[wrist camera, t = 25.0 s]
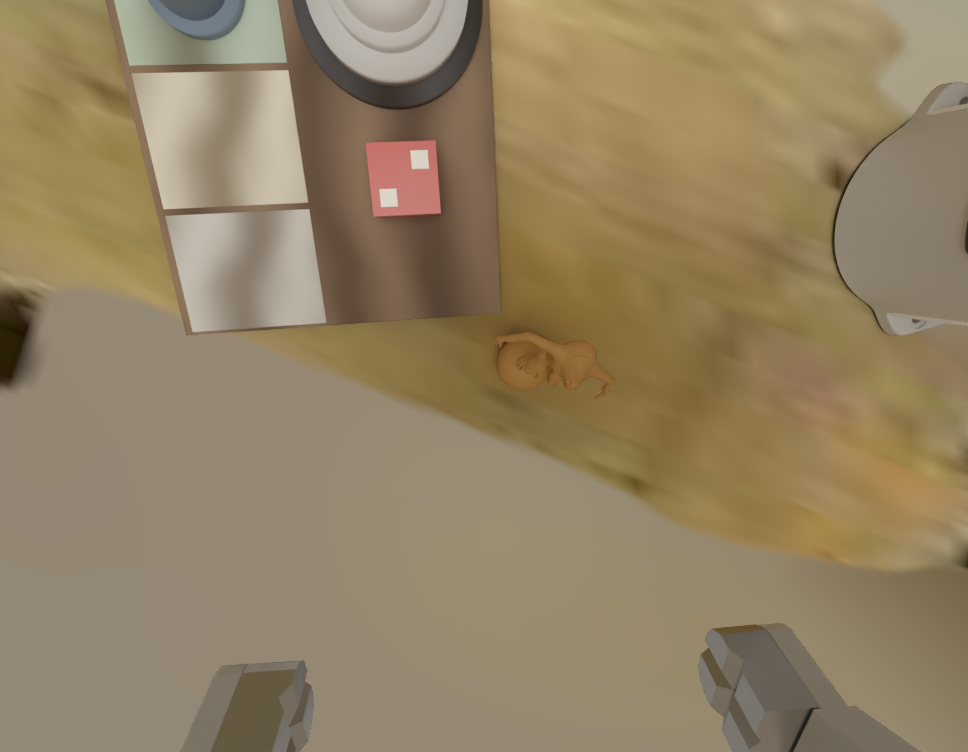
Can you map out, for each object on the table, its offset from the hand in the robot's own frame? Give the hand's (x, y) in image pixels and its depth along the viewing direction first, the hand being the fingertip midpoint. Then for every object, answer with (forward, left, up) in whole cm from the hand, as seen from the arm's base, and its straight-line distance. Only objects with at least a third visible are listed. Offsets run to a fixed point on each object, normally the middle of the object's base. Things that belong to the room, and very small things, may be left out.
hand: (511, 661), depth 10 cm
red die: (+2, -11, -27) cm, 29 cm away
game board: (+7, -15, -28) cm, 33 cm away
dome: (+2, -21, -26) cm, 34 cm away
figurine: (-6, +1, -29) cm, 29 cm away
